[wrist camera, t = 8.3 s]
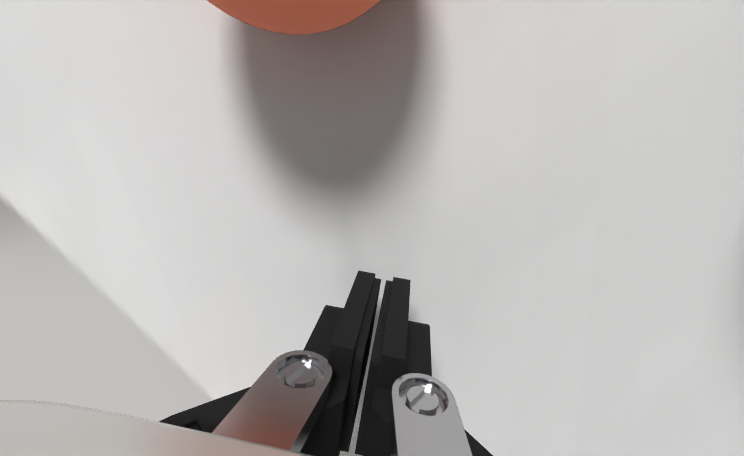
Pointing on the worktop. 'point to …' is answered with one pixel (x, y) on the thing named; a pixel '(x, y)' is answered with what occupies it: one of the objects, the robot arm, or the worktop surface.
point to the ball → (295, 13)
